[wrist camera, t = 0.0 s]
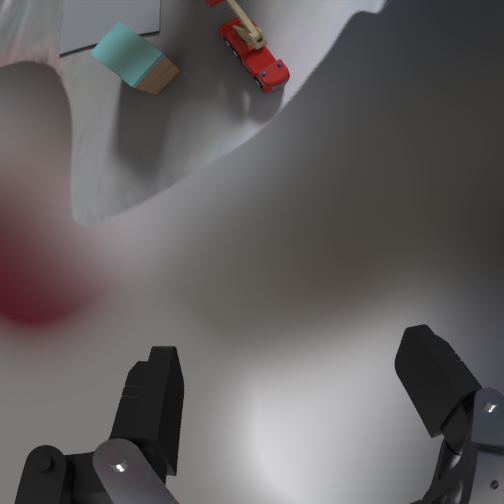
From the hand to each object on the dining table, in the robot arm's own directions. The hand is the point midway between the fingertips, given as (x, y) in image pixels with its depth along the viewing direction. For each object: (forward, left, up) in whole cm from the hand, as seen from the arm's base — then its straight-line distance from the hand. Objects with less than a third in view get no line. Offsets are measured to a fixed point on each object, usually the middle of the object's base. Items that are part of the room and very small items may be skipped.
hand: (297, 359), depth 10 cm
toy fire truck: (-17, 0, -30) cm, 34 cm away
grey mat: (-27, -17, -29) cm, 43 cm away
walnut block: (-15, -11, -29) cm, 35 cm away
